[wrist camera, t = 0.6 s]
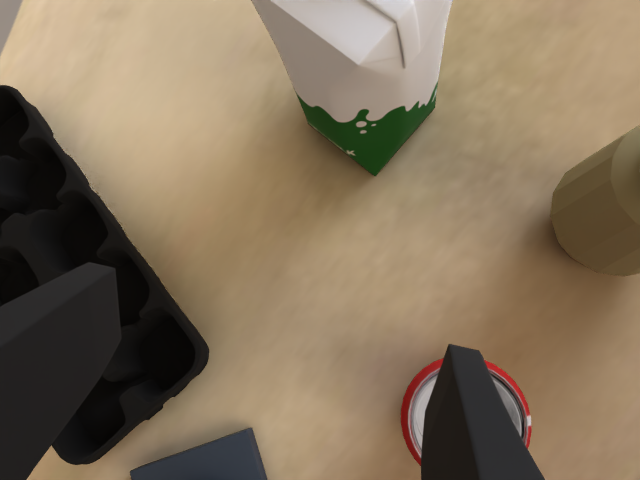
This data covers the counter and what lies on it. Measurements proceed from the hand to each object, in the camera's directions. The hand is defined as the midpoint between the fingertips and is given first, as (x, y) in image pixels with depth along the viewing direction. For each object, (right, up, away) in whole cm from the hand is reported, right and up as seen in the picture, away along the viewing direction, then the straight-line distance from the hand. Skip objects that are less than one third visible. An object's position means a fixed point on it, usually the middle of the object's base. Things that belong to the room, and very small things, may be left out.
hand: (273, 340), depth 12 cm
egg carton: (-19, 0, +32) cm, 38 cm away
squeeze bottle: (+21, +3, +27) cm, 34 cm away
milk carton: (+5, +12, +31) cm, 33 cm away
